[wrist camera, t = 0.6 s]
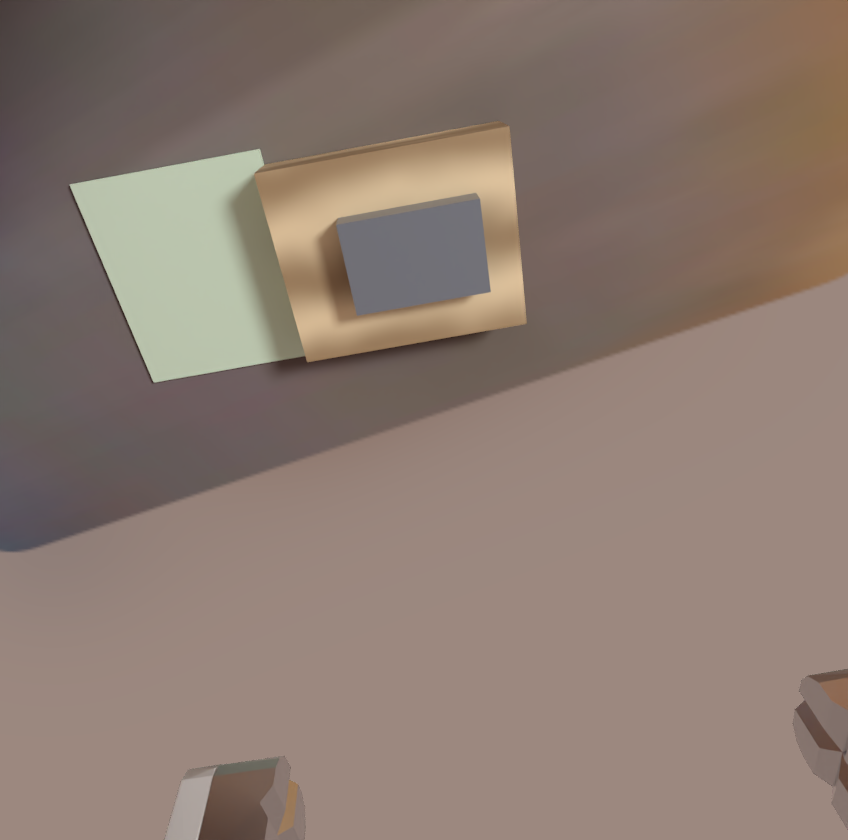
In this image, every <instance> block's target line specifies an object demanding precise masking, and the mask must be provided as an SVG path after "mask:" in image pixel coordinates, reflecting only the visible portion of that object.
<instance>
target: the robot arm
mask: <svg viewBox="0 0 848 840" xmlns="http://www.w3.org/2000/svg"><path fill="white" fill-rule="evenodd" d="M799 692H800V693H801V695H802V696H803V698H804V699H805V701H804V702H803V703H801V704H800V705H799V706H798V707H797V708H796V709H795V712H794V719H793V726H794V731H795V736H796V740H797V743H798V745H799V748H800V750H801V752H802V754H803V757H804V758H805V760H806V762H807V764H808V765H809V767H810V768H811V770H812V772H813V773H814V774H815V775H816V776H818V777H820V778H821V779H822V780H824V781H825V782H827V783H828V784H830V785H831V786H832V787H833V791H832V805H833V806H834V808H835V810H836V811H837V813H838V815H839V816H840V818H841V820H842V821H843V823H844V825H845V826H846V828H847V829H848V669H844V670H838V671H832V672H827V673H821V674H815V675H809V676H806V677H805V678H804V679H802V680H801V685H800V689H799ZM290 769H291V767H290V765H289V763H288V762H287V760H286V758H285V756H279V757H273V758H265V759H258V760H252V761H245V762H238V763H231V764H224V765H222V764H220V765H214V766H208V767H201V768H195V769H190V770H188V771H187V772H186V774H185V776H184V777H183V779H182V781H181V783H180V786H179V790H178V793H177V796H176V800H175V803H174V807H173V810H172V814H171V817H170V821H169V824H168V828H167V831H166V835H165V838H164V840H304V839H305V805H304V801H303V796H302V792H301V790H300V787H299V785H298V784H297V783H295V782H293V781H291V780H289V777H290Z"/></svg>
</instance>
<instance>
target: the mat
mask: <svg viewBox="0 0 848 840" xmlns="http://www.w3.org/2000/svg"><path fill="white" fill-rule="evenodd" d="M263 165H264V162H263V158H262V154H261V151H260V149H256V150H251V151H246V152H240V153H235V154H229V155H224V156H219V157H213V158H208V159H203V160H197V161H192V162H187V163H181V164H176V165H171V166H165V167H160V168H155V169H149V170H144V171H139V172H133V173H128V174H123V175H117V176H112V177H107V178H101V179H96V180H91V181H85V182H80V183H75V184H70V188H71V190H72V192H73V195H74V197H75V199H76V202H77V204H78V206H79V209H80V211H81V213H82V216H83V218H84V220H85V223H86V225H87V227H88V230H89V232H90V234H91V237H92V239H93V242H94V244H95V246H96V249H97V251H98V253H99V256H100V258H101V260H102V263H103V265H104V267H105V270H106V272H107V274H108V277H109V279H110V281H111V284H112V286H113V288H114V291H115V293H116V295H117V298H118V300H119V303H120V305H121V307H122V310H123V312H124V314H125V317H126V319H127V321H128V324H129V326H130V328H131V331H132V333H133V335H134V338H135V340H136V342H137V345H138V347H139V349H140V352H141V354H142V356H143V359H144V361H145V364H146V366H147V368H148V371H149V373H150V375H151V378H152V380H153V382H154V383H155V382H160V381H166V380H172V379H177V378H183V377H189V376H194V375H200V374H206V373H211V372H217V371H223V370H228V369H234V368H240V367H245V366H251V365H257V364H262V363H268V362H274V361H279V360H285V359H291V358H297V357H302V356H305V353H304V349H303V346H302V342H301V339H300V335H299V332H298V328H297V325H296V321H295V318H294V314H293V310H292V307H291V303H290V300H289V296H288V293H287V289H286V286H285V282H284V279H283V275H282V272H281V268H280V265H279V261H278V258H277V254H276V251H275V247H274V243H273V240H272V236H271V233H270V229H269V226H268V222H267V219H266V215H265V212H264V208H263V205H262V201H261V198H260V194H259V191H258V187H257V184H256V180H255V176H254V173H255V172H256V171H258V170H259V169H260V168H261V167H262V166H263Z"/></svg>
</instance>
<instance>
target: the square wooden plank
mask: <svg viewBox="0 0 848 840" xmlns="http://www.w3.org/2000/svg"><path fill="white" fill-rule="evenodd" d="M254 176H255V180H256V184H257V187H258V191H259V194H260V198H261V201H262V205H263V208H264V212H265V215H266V219H267V222H268V226H269V229H270V233H271V236H272V240H273V243H274V247H275V251H276V254H277V258H278V261H279V265H280V268H281V272H282V275H283V279H284V282H285V286H286V289H287V293H288V296H289V300H290V303H291V307H292V310H293V314H294V318H295V321H296V325H297V328H298V332H299V335H300V339H301V342H302V346H303V349H304V353H305V356H306V360H307V362H312V361H318V360H323V359H329V358H335V357H340V356H346V355H352V354H357V353H363V352H369V351H374V350H380V349H386V348H392V347H397V346H403V345H409V344H414V343H420V342H426V341H431V340H437V339H443V338H448V337H454V336H460V335H465V334H471V333H477V332H483V331H488V330H494V329H500V328H505V327H511V326H517V325H522V324H527V322H526V311H525V299H524V288H523V277H522V265H521V254H520V242H519V231H518V219H517V208H516V197H515V185H514V174H513V162H512V151H511V139H510V128H509V126H508V125H506V124H504V123H502V122H500V121H496V122H490V123H485V124H480V125H474V126H469V127H463V128H458V129H453V130H447V131H442V132H437V133H431V134H426V135H421V136H415V137H410V138H404V139H399V140H394V141H388V142H383V143H378V144H372V145H367V146H361V147H356V148H351V149H345V150H340V151H335V152H329V153H324V154H319V155H313V156H308V157H302V158H297V159H292V160H286V161H281V162H276V163H270V164H265V165H263V166H262V167H261V168H260V169H259V170H258V171H256V172H255V173H254ZM472 193H476V194H477V195H478V196H479V198H480V202H481V211H482V219H483V228H484V237H485V246H486V254H487V263H488V272H489V280H490V289H491V292H488V293H483V294H477V295H471V296H466V297H460V298H455V299H449V300H443V301H438V302H432V303H426V304H421V305H415V306H410V307H404V308H398V309H393V310H387V311H381V312H376V313H370V314H365V315H359V316H357V314H356V309H355V305H354V301H353V296H352V292H351V288H350V283H349V279H348V275H347V270H346V266H345V262H344V257H343V253H342V249H341V244H340V240H339V236H338V231H337V227H336V223H337V220H338V218H341V217H346V216H351V215H357V214H362V213H368V212H373V211H379V210H384V209H390V208H395V207H401V206H406V205H412V204H417V203H423V202H428V201H433V200H439V199H444V198H450V197H455V196H461V195H466V194H472Z"/></svg>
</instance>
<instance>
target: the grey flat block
mask: <svg viewBox="0 0 848 840" xmlns="http://www.w3.org/2000/svg"><path fill="white" fill-rule="evenodd" d="M336 227H337V231H338V236H339V240H340V244H341V249H342V253H343V257H344V262H345V266H346V270H347V275H348V279H349V283H350V288H351V292H352V296H353V301H354V305H355V309H356V314H357V316H359V315H365V314H370V313H376V312H381V311H387V310H393V309H398V308H404V307H410V306H415V305H421V304H426V303H432V302H438V301H443V300H449V299H455V298H460V297H466V296H471V295H477V294H483V293H488V292H491V289H490V280H489V272H488V263H487V254H486V246H485V237H484V228H483V219H482V211H481V202H480V198H479V196H478V195H477V194H476V193H472V194H466V195H461V196H455V197H450V198H444V199H439V200H433V201H428V202H423V203H417V204H412V205H406V206H401V207H395V208H390V209H384V210H379V211H373V212H368V213H362V214H357V215H351V216H346V217H341V218H338V220H337V223H336Z"/></svg>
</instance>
